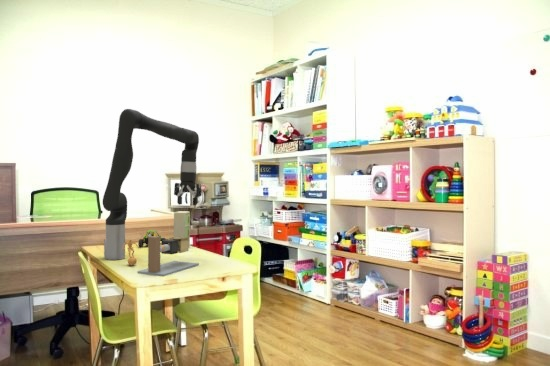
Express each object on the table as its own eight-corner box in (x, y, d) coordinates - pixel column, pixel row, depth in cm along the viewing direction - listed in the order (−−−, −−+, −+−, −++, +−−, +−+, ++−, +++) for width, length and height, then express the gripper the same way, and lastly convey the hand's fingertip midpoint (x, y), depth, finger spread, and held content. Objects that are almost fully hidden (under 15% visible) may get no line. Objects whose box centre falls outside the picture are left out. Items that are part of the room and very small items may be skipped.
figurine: (125, 267, 210) (125, 241, 210) (120, 265, 215) (119, 239, 215) (142, 265, 216) (142, 239, 216) (136, 263, 221) (136, 238, 220)
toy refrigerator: (185, 249, 259) (185, 212, 259) (173, 249, 261) (173, 212, 260) (191, 247, 267) (191, 211, 267) (179, 247, 269) (179, 211, 268)
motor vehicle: (165, 243, 282) (166, 226, 282) (156, 249, 263) (156, 230, 263) (147, 243, 283) (147, 226, 283) (136, 248, 264) (136, 230, 263)
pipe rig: (137, 273, 199) (137, 236, 198) (174, 262, 223) (174, 229, 222) (163, 276, 193) (163, 238, 193) (198, 265, 217) (198, 231, 216)
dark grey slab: (161, 253, 207) (161, 240, 207) (166, 252, 211) (167, 239, 211) (172, 254, 205) (172, 241, 205) (177, 253, 208) (177, 240, 208)
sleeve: (169, 251, 213) (169, 238, 212) (177, 250, 218) (177, 236, 218) (180, 253, 210) (180, 239, 210) (188, 251, 215) (188, 237, 215)
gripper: (171, 170, 223) (170, 204, 223) (196, 171, 217) (195, 206, 217) (180, 171, 230) (179, 203, 230) (205, 172, 224) (203, 205, 224)
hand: (187, 204), depth 223 cm, fingers open, 8 cm apart
